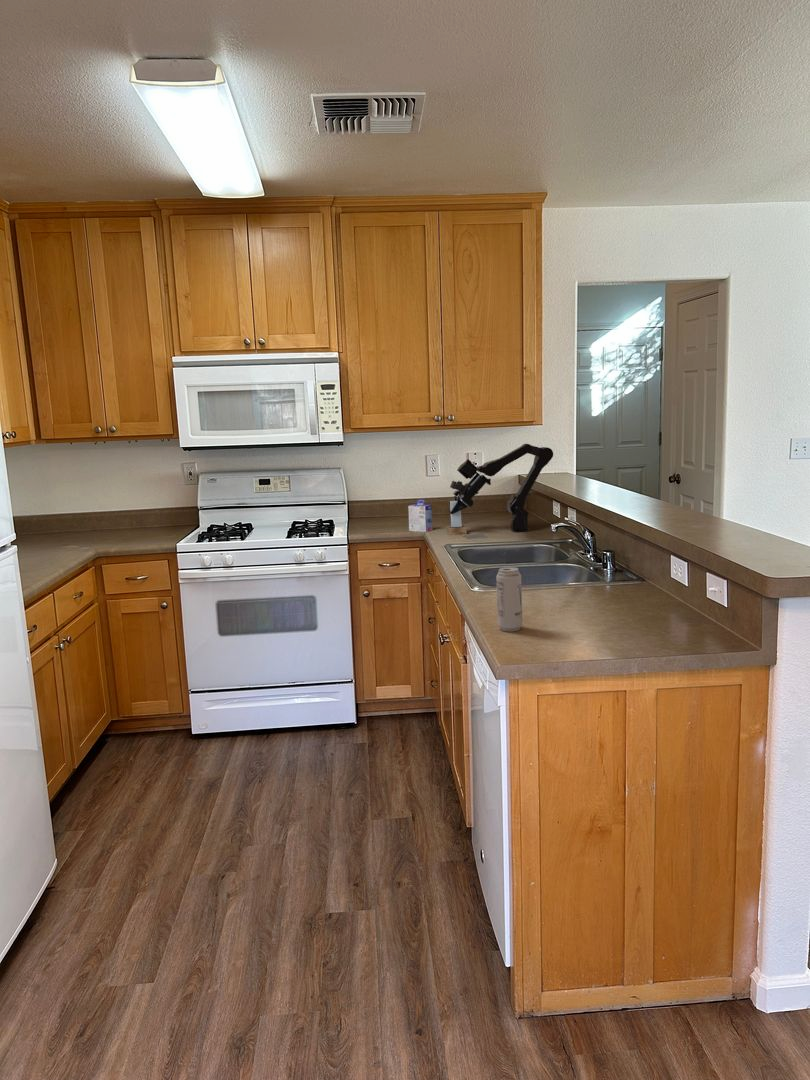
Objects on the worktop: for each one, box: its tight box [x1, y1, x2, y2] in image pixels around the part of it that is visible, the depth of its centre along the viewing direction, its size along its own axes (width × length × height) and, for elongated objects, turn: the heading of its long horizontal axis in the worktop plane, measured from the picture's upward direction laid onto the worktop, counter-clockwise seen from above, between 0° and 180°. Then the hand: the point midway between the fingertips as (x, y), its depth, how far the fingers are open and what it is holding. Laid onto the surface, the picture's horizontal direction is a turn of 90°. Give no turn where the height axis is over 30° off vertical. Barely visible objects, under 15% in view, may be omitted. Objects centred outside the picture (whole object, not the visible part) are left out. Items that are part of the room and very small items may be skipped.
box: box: [446, 525, 468, 536], centre depth 327 cm, size 8×7×4 cm
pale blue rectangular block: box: [449, 500, 462, 527], centre depth 326 cm, size 4×4×11 cm
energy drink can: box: [495, 566, 523, 632], centre depth 184 cm, size 6×6×15 cm
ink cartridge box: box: [408, 499, 434, 533], centre depth 340 cm, size 10×6×14 cm, turn 53°
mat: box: [462, 533, 488, 540], centre depth 318 cm, size 9×9×1 cm
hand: (450, 513), depth 326 cm, fingers closed on pale blue rectangular block, 3 cm apart
